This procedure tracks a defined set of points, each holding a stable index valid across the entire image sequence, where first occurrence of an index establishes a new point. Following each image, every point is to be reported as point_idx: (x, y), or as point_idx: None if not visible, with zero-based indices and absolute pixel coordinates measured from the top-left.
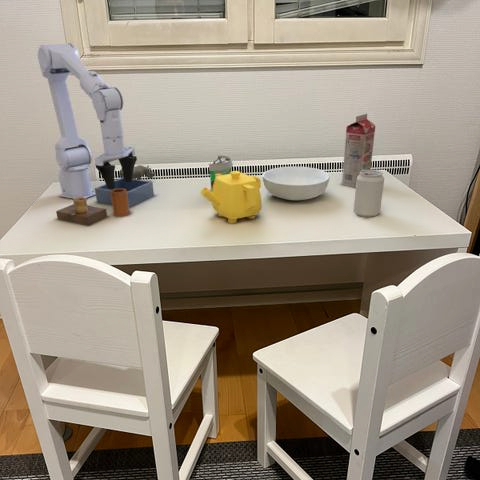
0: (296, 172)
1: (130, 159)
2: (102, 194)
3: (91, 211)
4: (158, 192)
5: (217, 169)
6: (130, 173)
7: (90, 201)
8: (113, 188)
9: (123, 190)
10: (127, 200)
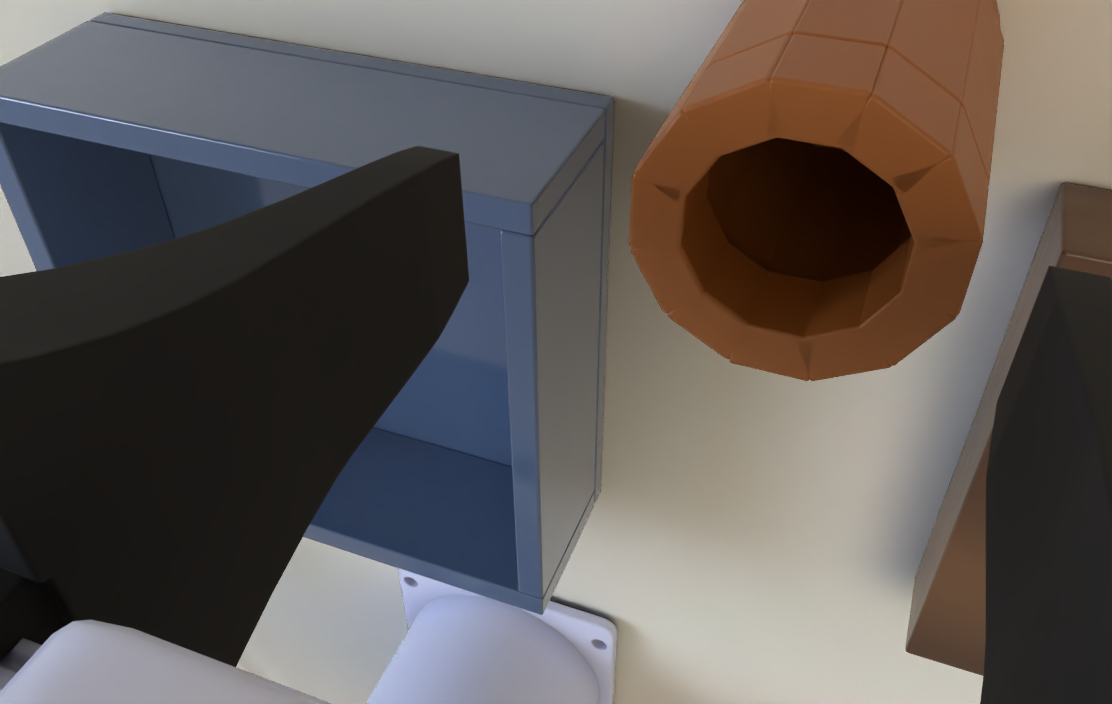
0: None
1: (31, 448)
2: (564, 497)
3: None
4: (5, 29)
5: None
6: (336, 237)
7: (598, 551)
8: (1105, 283)
9: (709, 167)
10: (788, 3)
